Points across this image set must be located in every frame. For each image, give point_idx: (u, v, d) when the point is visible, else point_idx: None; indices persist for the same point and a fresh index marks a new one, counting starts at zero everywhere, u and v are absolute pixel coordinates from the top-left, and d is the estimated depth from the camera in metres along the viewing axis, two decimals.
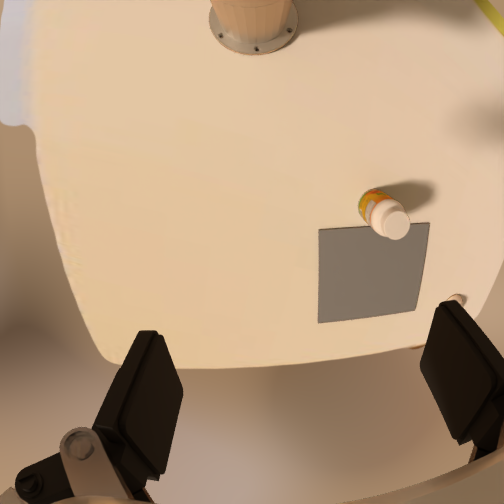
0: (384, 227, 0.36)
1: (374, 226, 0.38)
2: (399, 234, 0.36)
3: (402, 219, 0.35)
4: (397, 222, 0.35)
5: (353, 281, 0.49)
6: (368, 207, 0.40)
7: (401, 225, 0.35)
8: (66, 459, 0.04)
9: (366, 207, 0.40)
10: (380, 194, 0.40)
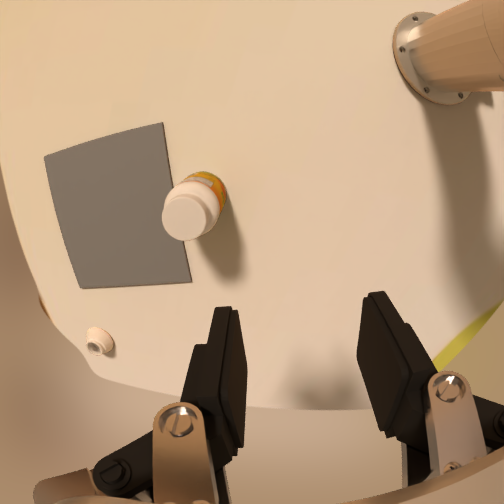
0: (178, 197, 0.24)
1: (176, 187, 0.26)
2: (170, 225, 0.25)
3: (193, 225, 0.25)
4: (188, 218, 0.25)
5: (98, 187, 0.33)
6: (201, 178, 0.29)
7: (184, 226, 0.25)
8: (165, 438, 0.05)
9: (201, 177, 0.29)
10: (222, 196, 0.30)
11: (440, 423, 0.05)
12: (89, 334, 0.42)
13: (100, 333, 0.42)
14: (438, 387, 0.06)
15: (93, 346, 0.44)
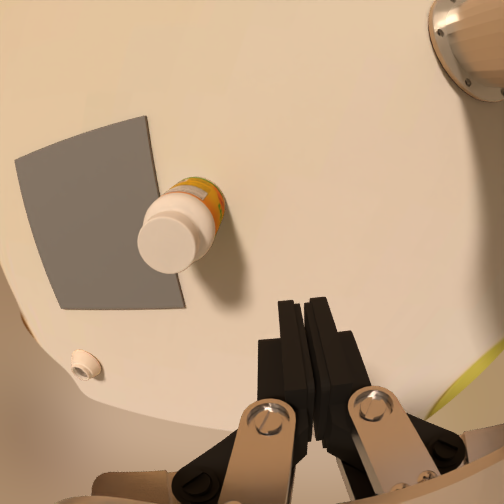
0: (157, 217, 0.18)
1: (158, 201, 0.20)
2: (149, 254, 0.19)
3: (178, 254, 0.19)
4: (171, 245, 0.18)
5: (73, 196, 0.27)
6: (192, 188, 0.22)
7: (167, 255, 0.19)
8: (258, 437, 0.05)
9: (191, 185, 0.23)
10: (219, 210, 0.23)
11: (372, 446, 0.05)
12: (74, 357, 0.36)
13: (86, 357, 0.36)
14: (360, 406, 0.06)
15: (80, 369, 0.38)
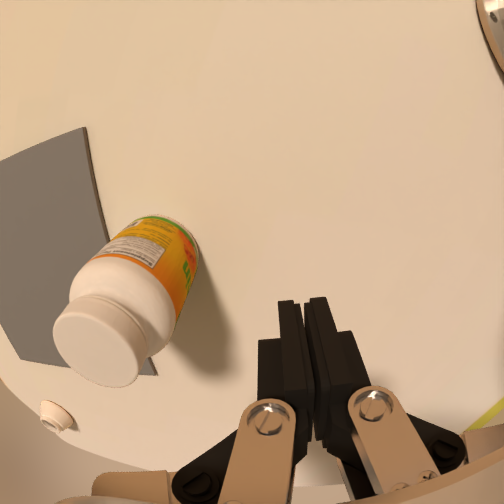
0: (71, 314, 0.09)
1: (82, 272, 0.11)
2: (74, 360, 0.10)
3: (114, 367, 0.10)
4: (101, 354, 0.10)
5: (11, 236, 0.18)
6: (140, 243, 0.14)
7: (98, 365, 0.10)
8: (258, 437, 0.05)
9: (140, 236, 0.14)
10: (185, 273, 0.15)
11: (372, 446, 0.05)
12: (42, 409, 0.27)
13: (54, 410, 0.27)
14: (360, 406, 0.06)
15: None
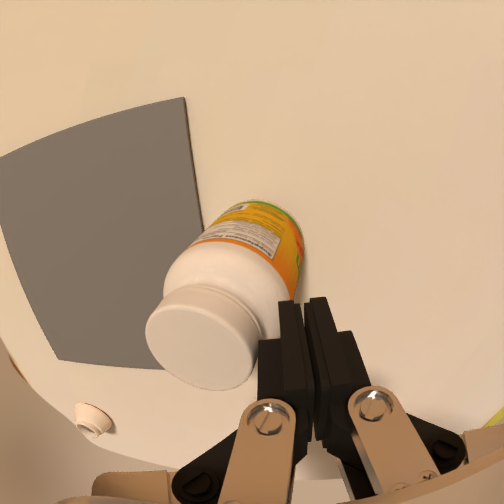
0: (179, 306, 0.09)
1: (188, 257, 0.11)
2: (167, 356, 0.10)
3: (219, 369, 0.10)
4: (207, 355, 0.09)
5: (67, 219, 0.18)
6: (254, 229, 0.13)
7: (199, 366, 0.10)
8: (258, 438, 0.05)
9: (253, 222, 0.13)
10: (297, 267, 0.14)
11: (372, 446, 0.05)
12: (78, 412, 0.27)
13: (93, 413, 0.27)
14: (360, 406, 0.06)
15: None
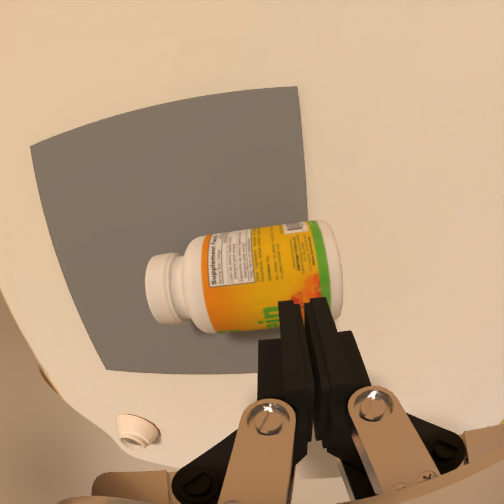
0: (148, 263, 0.15)
1: (191, 241, 0.16)
2: None
3: None
4: None
5: (143, 210, 0.17)
6: (239, 257, 0.14)
7: None
8: (258, 437, 0.05)
9: (253, 251, 0.14)
10: (265, 314, 0.14)
11: (372, 446, 0.05)
12: (122, 425, 0.26)
13: (140, 425, 0.26)
14: (360, 406, 0.06)
15: None
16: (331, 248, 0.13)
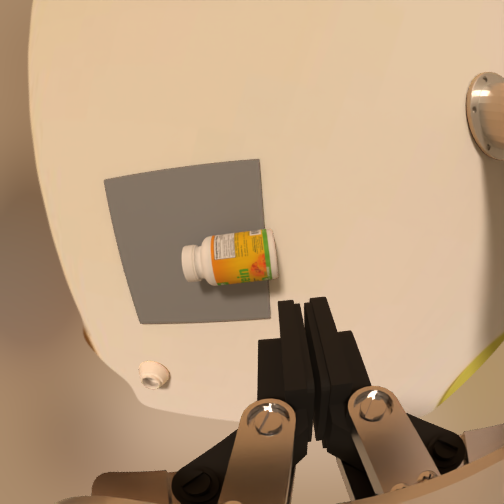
0: (182, 249, 0.31)
1: (205, 239, 0.32)
2: None
3: None
4: None
5: (177, 222, 0.33)
6: (228, 246, 0.30)
7: None
8: (258, 437, 0.05)
9: (235, 243, 0.30)
10: (240, 272, 0.30)
11: (372, 446, 0.05)
12: (144, 368, 0.41)
13: (157, 367, 0.42)
14: (360, 406, 0.06)
15: (145, 379, 0.43)
16: (270, 242, 0.30)
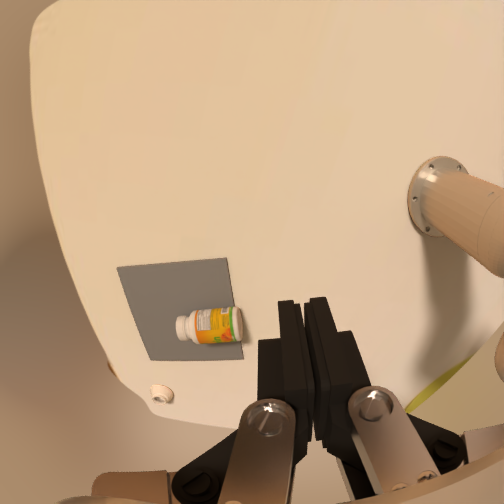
0: (176, 320, 0.44)
1: (191, 313, 0.45)
2: None
3: None
4: None
5: (172, 298, 0.46)
6: (206, 321, 0.43)
7: None
8: (258, 437, 0.05)
9: (210, 320, 0.43)
10: (214, 339, 0.43)
11: (372, 446, 0.05)
12: (154, 390, 0.55)
13: (164, 389, 0.55)
14: (360, 406, 0.06)
15: (155, 397, 0.57)
16: (234, 320, 0.42)
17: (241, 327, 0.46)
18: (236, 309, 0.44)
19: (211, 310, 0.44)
